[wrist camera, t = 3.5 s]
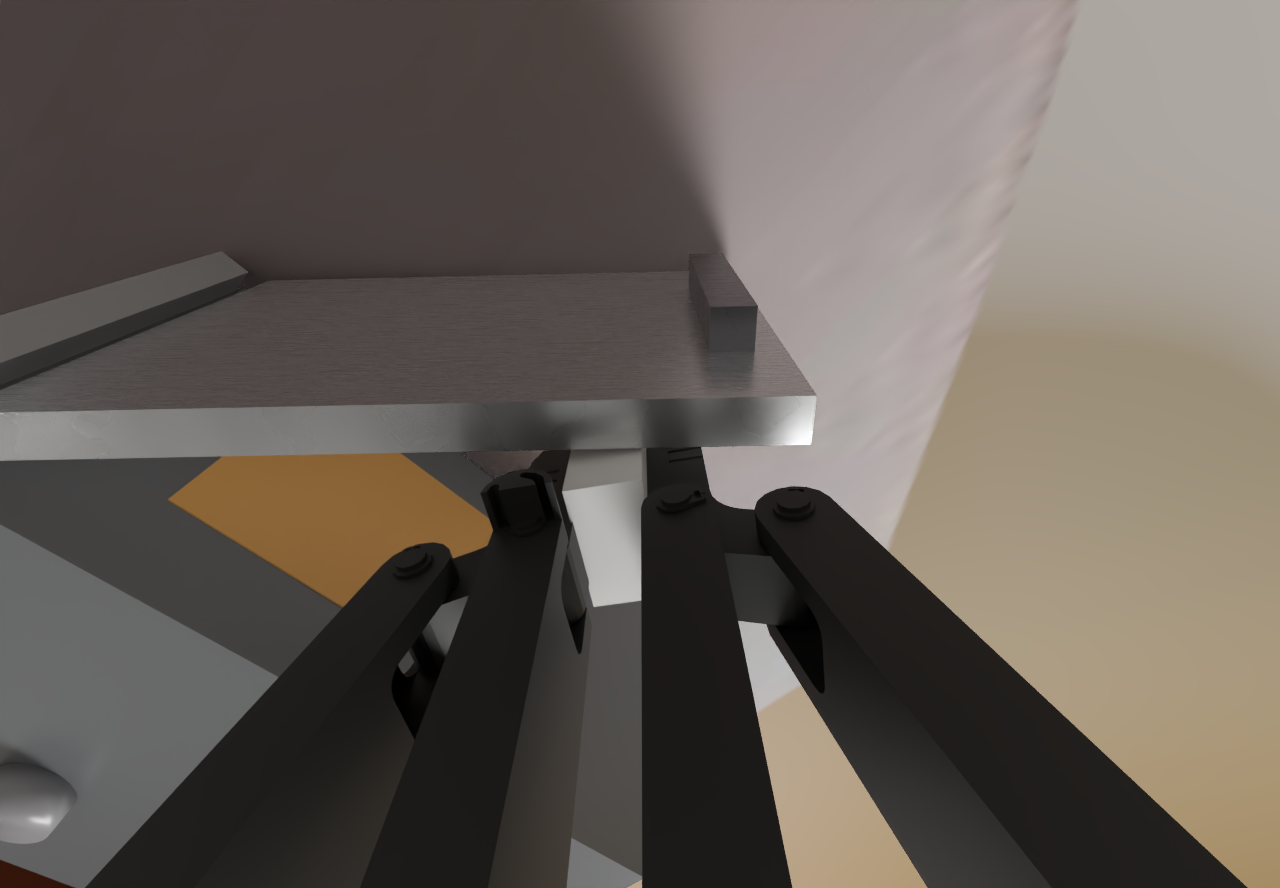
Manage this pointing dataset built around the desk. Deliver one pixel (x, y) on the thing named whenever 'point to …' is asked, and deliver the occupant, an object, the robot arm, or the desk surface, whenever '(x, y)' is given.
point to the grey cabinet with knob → (219, 603)
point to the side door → (429, 371)
